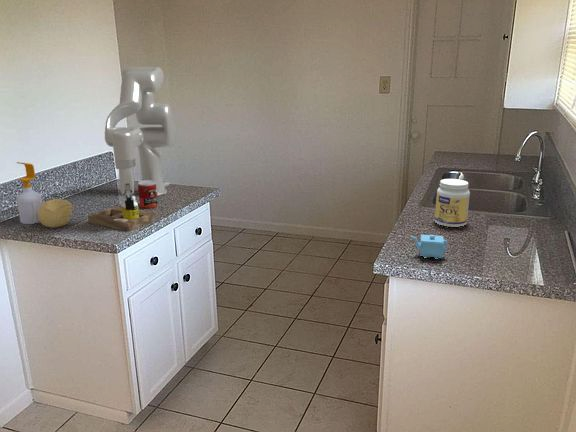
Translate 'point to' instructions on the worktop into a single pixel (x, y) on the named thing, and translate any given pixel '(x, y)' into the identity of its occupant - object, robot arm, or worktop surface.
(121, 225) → the socket rack
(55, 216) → the sculpture
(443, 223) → the supplement tub
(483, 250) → the worktop surface
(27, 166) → the soap bottle
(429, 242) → the teapot
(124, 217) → the pill bottle
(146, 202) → the canned food
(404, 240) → the worktop surface
